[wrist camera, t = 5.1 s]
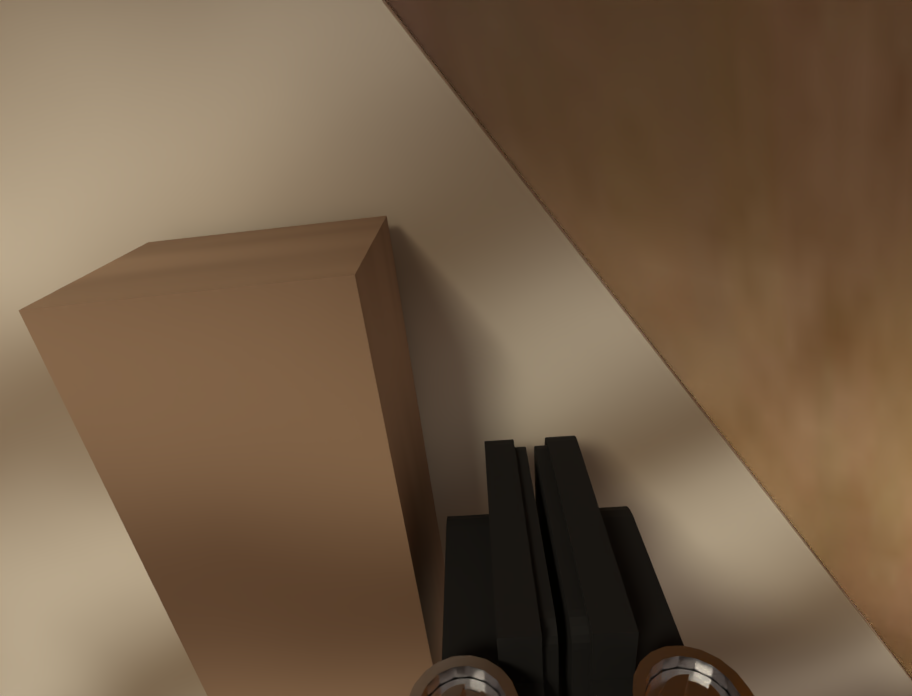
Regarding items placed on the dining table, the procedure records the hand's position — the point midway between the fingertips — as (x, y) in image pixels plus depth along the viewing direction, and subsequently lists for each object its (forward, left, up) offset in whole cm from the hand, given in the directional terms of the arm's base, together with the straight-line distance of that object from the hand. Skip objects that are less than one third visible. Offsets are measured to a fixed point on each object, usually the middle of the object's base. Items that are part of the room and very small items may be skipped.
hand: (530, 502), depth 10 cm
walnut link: (-4, +7, -1) cm, 8 cm away
